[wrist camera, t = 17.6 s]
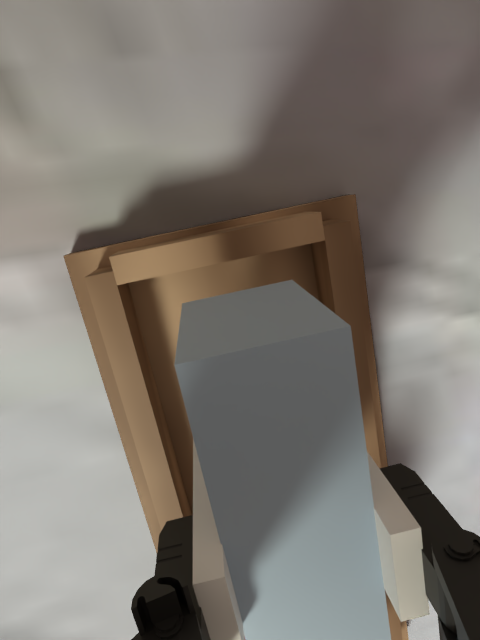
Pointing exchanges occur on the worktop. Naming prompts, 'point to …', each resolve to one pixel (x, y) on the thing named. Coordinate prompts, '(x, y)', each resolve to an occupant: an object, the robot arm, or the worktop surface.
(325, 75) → the worktop surface
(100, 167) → the worktop surface
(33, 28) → the worktop surface
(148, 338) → the tray
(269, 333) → the bar
